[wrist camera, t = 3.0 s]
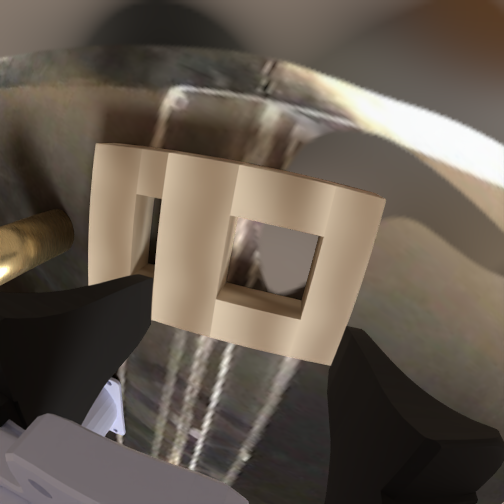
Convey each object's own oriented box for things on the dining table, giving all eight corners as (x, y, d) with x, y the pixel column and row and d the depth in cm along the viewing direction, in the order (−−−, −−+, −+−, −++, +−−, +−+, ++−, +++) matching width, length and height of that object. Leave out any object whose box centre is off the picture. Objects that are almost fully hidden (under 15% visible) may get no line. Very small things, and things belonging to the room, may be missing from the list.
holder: (108, 284, 22) (89, 298, 19) (118, 143, 19) (95, 143, 16) (329, 343, 20) (330, 365, 18) (375, 193, 17) (386, 199, 15)
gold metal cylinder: (44, 246, 22) (-29, 282, 15) (43, 205, 21) (-36, 231, 13) (74, 256, 22) (-2, 298, 14) (74, 212, 21) (-9, 243, 13)
